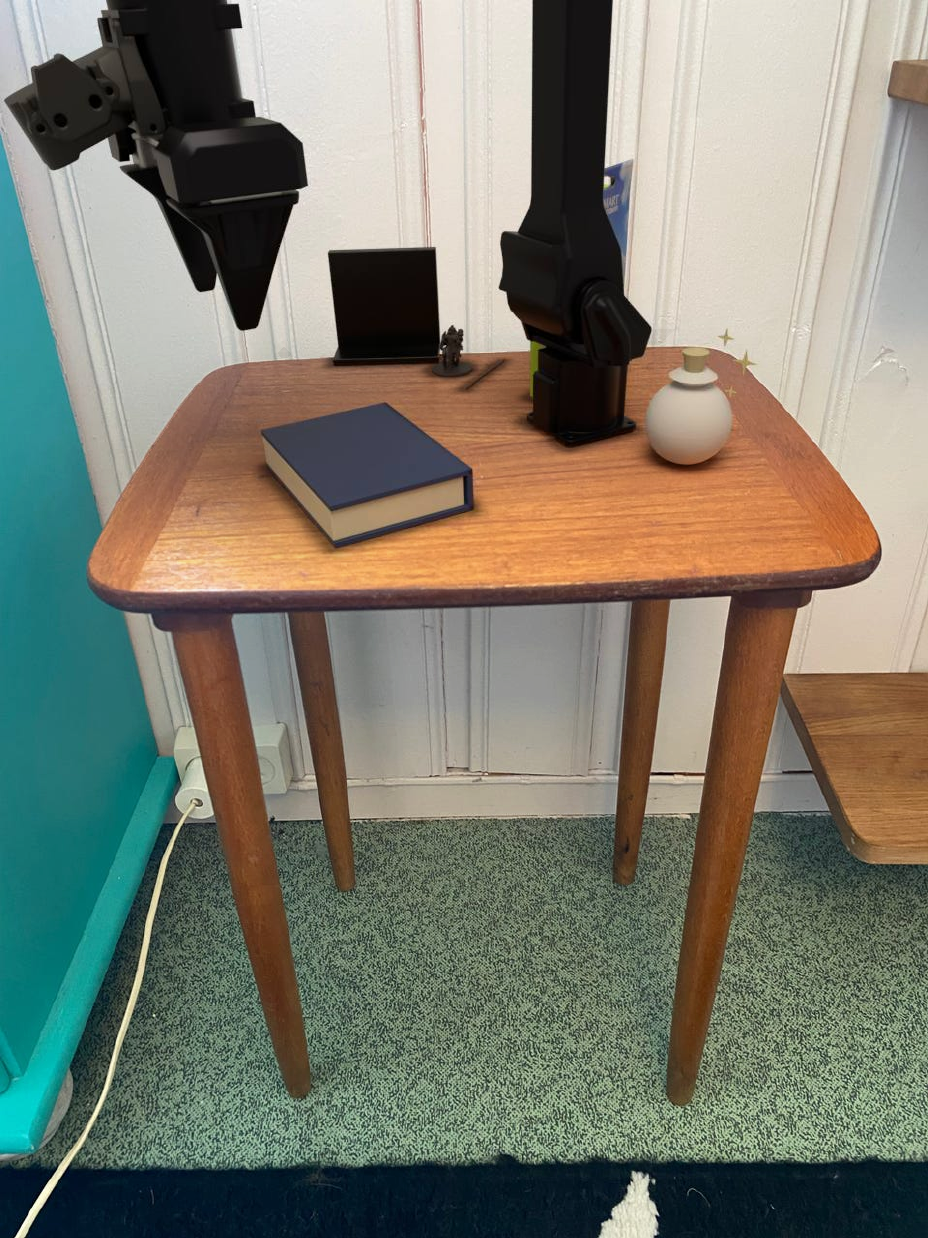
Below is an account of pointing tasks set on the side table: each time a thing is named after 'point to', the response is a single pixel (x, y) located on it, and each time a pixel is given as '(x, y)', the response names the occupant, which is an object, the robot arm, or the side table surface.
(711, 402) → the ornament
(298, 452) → the book
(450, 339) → the figurine
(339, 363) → the bookend
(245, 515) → the side table surface
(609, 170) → the box
